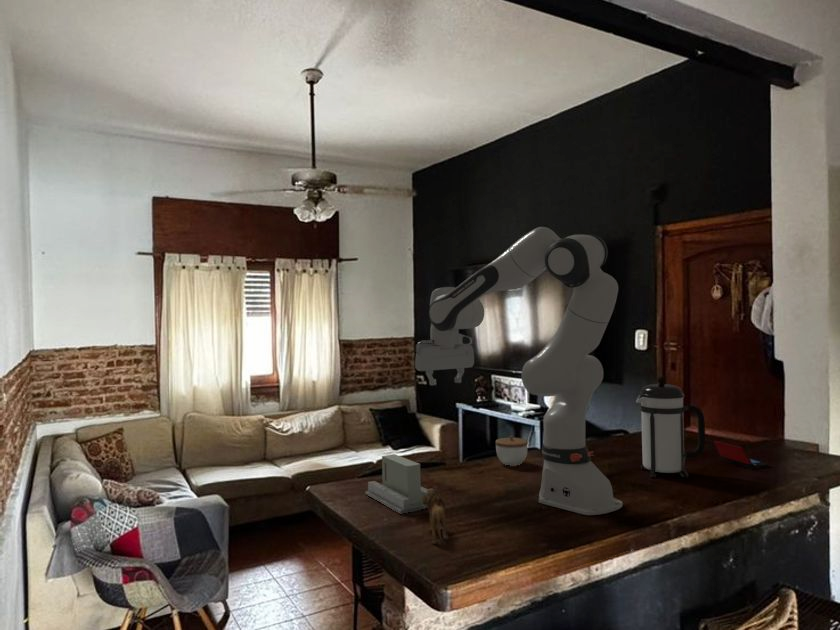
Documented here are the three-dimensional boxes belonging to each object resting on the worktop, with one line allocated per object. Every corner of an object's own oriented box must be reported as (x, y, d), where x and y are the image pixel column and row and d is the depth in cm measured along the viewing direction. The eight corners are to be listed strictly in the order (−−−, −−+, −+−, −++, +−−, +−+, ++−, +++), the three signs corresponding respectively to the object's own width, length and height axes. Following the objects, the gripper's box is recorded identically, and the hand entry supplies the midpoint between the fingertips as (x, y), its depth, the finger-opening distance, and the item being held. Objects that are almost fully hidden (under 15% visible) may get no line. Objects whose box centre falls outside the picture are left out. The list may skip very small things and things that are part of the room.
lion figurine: (419, 524, 140) (419, 487, 140) (441, 522, 142) (440, 485, 142) (434, 548, 126) (433, 506, 126) (457, 545, 127) (456, 504, 127)
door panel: (421, 501, 155) (420, 464, 155) (407, 504, 152) (407, 466, 152) (395, 489, 166) (394, 454, 166) (382, 491, 164) (381, 456, 164)
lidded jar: (509, 469, 188) (509, 440, 189) (489, 462, 198) (488, 435, 198) (534, 464, 194) (534, 436, 194) (514, 458, 203) (513, 431, 203)
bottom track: (439, 505, 154) (439, 492, 154) (400, 514, 148) (400, 500, 148) (401, 487, 171) (401, 475, 171) (365, 495, 165) (364, 482, 165)
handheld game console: (770, 467, 185) (770, 444, 185) (743, 471, 182) (742, 447, 182) (739, 458, 197) (738, 436, 197) (713, 461, 194) (712, 439, 194)
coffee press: (676, 483, 169) (673, 380, 169) (628, 472, 182) (625, 376, 182) (707, 473, 179) (704, 376, 180) (659, 463, 192) (657, 372, 192)
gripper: (421, 340, 173) (422, 387, 173) (476, 338, 183) (477, 382, 183) (410, 340, 178) (411, 385, 178) (464, 338, 189) (465, 380, 189)
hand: (445, 383), depth 181 cm, fingers open, 8 cm apart
